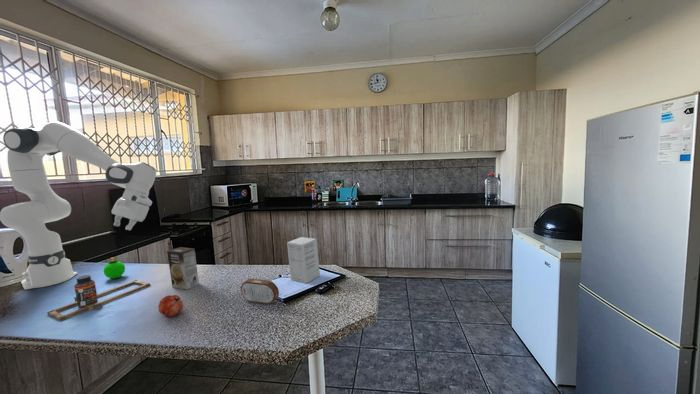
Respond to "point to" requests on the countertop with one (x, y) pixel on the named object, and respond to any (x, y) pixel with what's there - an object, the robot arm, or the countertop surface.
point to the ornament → (114, 269)
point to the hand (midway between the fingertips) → (121, 227)
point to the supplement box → (303, 259)
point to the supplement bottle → (85, 291)
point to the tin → (259, 291)
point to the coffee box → (183, 267)
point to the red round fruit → (170, 305)
